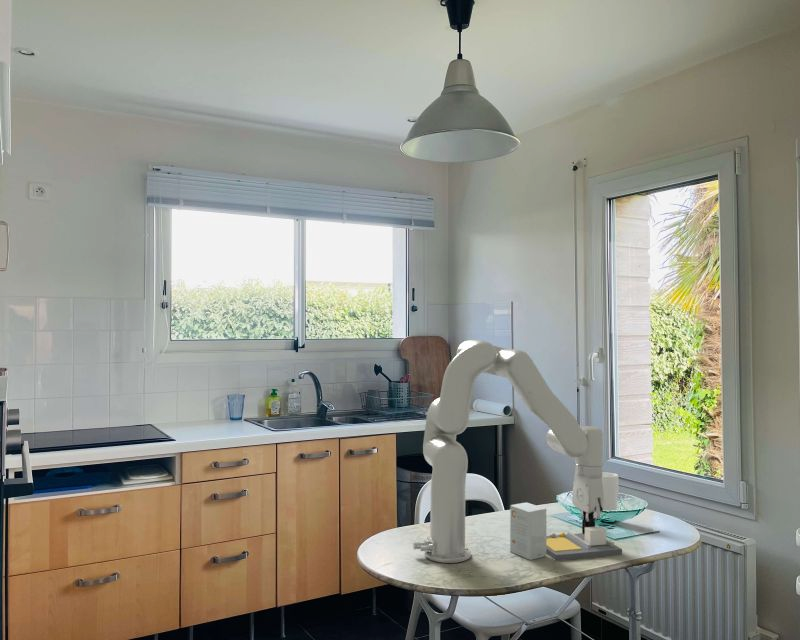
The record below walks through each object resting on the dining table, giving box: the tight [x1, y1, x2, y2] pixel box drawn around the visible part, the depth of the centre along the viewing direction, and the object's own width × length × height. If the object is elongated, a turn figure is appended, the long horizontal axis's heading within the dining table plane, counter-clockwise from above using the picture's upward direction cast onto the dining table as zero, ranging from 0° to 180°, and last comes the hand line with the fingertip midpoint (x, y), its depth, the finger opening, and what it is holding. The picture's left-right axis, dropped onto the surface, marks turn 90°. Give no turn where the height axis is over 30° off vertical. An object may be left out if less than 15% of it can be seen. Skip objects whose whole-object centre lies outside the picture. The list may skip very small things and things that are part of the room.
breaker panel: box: [546, 531, 623, 561], centre depth 187 cm, size 20×15×2 cm
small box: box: [509, 501, 548, 561], centre depth 182 cm, size 8×6×13 cm
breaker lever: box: [585, 525, 607, 546], centre depth 186 cm, size 5×3×4 cm, turn 104°
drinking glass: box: [602, 471, 620, 511], centre depth 213 cm, size 7×7×15 cm
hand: (588, 534), depth 190 cm, fingers closed
